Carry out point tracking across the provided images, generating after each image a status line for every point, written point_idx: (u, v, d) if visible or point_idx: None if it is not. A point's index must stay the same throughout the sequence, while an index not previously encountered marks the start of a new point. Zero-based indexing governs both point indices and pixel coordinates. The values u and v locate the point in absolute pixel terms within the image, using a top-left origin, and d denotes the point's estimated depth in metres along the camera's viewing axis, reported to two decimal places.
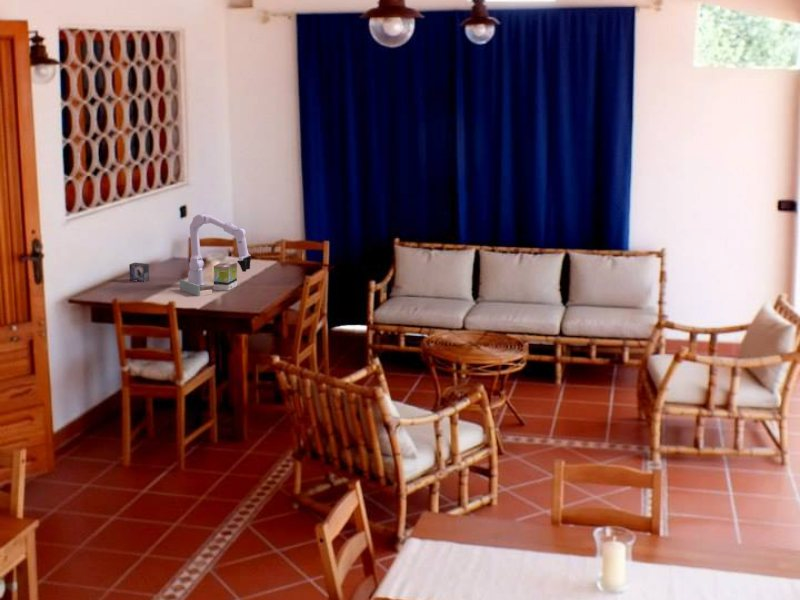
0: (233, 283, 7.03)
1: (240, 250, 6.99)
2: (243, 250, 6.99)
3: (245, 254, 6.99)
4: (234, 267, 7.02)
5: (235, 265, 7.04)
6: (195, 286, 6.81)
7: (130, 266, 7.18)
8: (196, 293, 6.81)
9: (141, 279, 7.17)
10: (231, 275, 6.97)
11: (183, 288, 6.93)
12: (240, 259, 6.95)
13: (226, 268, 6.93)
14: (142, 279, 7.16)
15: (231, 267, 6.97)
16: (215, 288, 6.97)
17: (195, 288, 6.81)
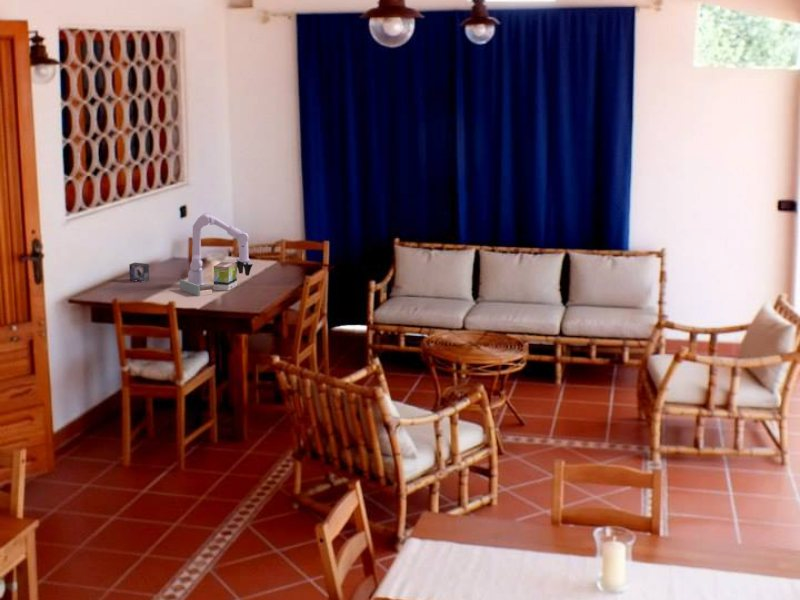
0: (233, 283, 7.03)
1: (245, 254, 7.05)
2: (247, 254, 7.06)
3: (248, 258, 7.07)
4: (234, 267, 7.02)
5: (235, 265, 7.04)
6: (195, 286, 6.81)
7: (130, 266, 7.18)
8: (196, 293, 6.81)
9: (141, 279, 7.17)
10: (231, 275, 6.97)
11: (183, 288, 6.93)
12: (250, 263, 7.03)
13: (226, 268, 6.93)
14: (142, 279, 7.16)
15: (231, 267, 6.97)
16: (215, 288, 6.97)
17: (195, 288, 6.81)
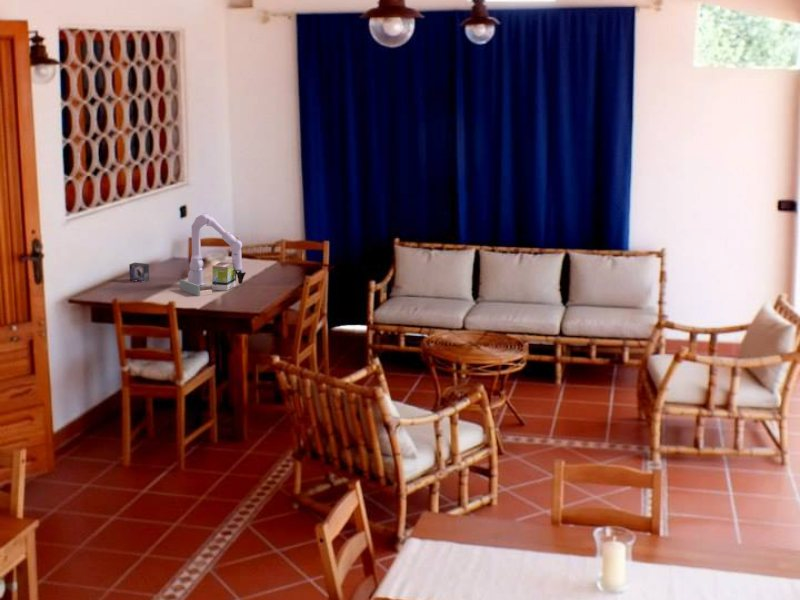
0: (232, 284, 7.02)
1: (238, 262, 7.03)
2: (240, 262, 7.04)
3: (241, 266, 7.05)
4: (232, 267, 7.01)
5: (233, 265, 7.03)
6: (195, 286, 6.81)
7: (130, 266, 7.18)
8: (196, 293, 6.81)
9: (141, 279, 7.17)
10: (229, 275, 6.97)
11: (183, 288, 6.93)
12: (243, 271, 7.01)
13: (225, 268, 6.92)
14: (142, 279, 7.16)
15: (230, 267, 6.96)
16: (214, 288, 6.96)
17: (195, 288, 6.81)
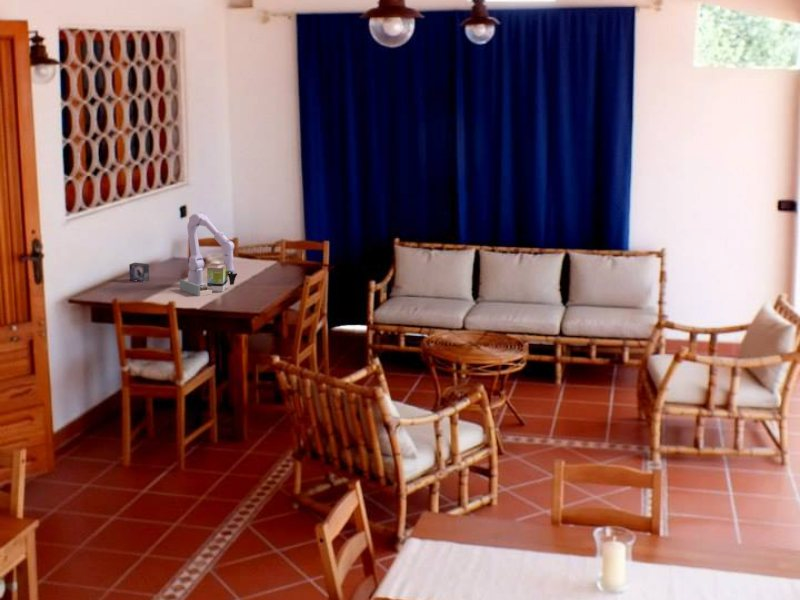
0: (225, 285, 6.99)
1: (229, 263, 6.99)
2: (232, 263, 7.00)
3: (232, 267, 7.02)
4: (226, 268, 6.98)
5: None
6: (195, 286, 6.81)
7: (130, 266, 7.18)
8: (196, 293, 6.81)
9: (141, 279, 7.17)
10: (224, 276, 6.93)
11: (183, 288, 6.93)
12: (234, 272, 6.97)
13: (220, 269, 6.89)
14: (142, 279, 7.16)
15: (224, 268, 6.93)
16: None
17: (195, 288, 6.81)
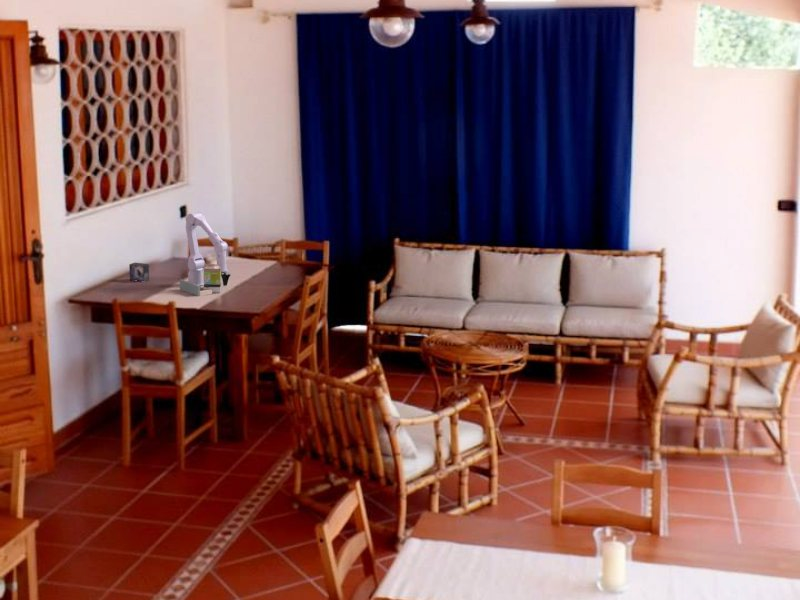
0: None
1: (223, 264, 6.96)
2: (225, 264, 6.98)
3: None
4: None
5: None
6: (195, 286, 6.81)
7: (130, 266, 7.18)
8: (196, 293, 6.81)
9: (141, 279, 7.17)
10: None
11: (183, 288, 6.93)
12: (227, 273, 6.94)
13: (218, 270, 6.86)
14: (142, 279, 7.16)
15: None
16: None
17: (195, 288, 6.81)
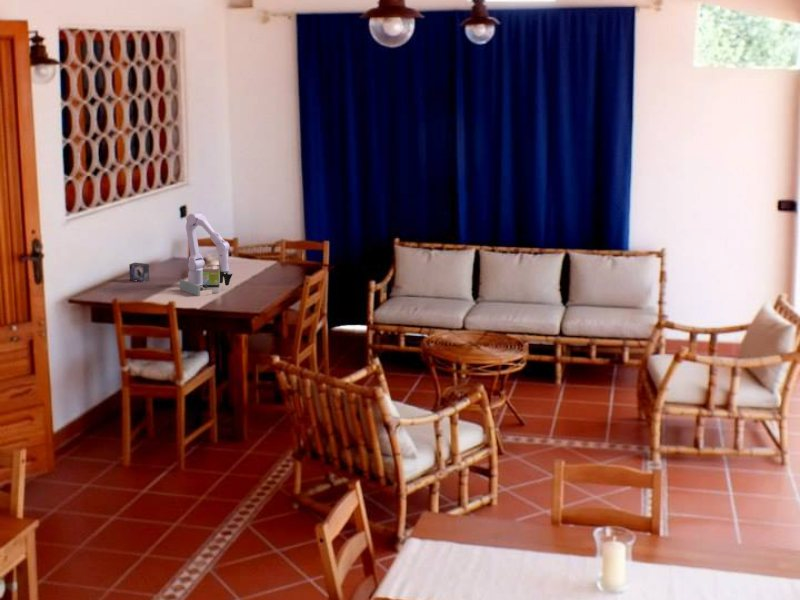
0: (219, 286, 6.96)
1: (225, 264, 6.97)
2: (227, 264, 6.98)
3: (228, 268, 7.00)
4: (219, 269, 6.96)
5: None
6: (195, 286, 6.81)
7: (130, 266, 7.18)
8: (196, 293, 6.81)
9: (141, 279, 7.17)
10: (219, 277, 6.91)
11: (183, 288, 6.93)
12: (229, 273, 6.95)
13: (216, 270, 6.86)
14: (142, 279, 7.16)
15: None
16: None
17: (195, 288, 6.81)
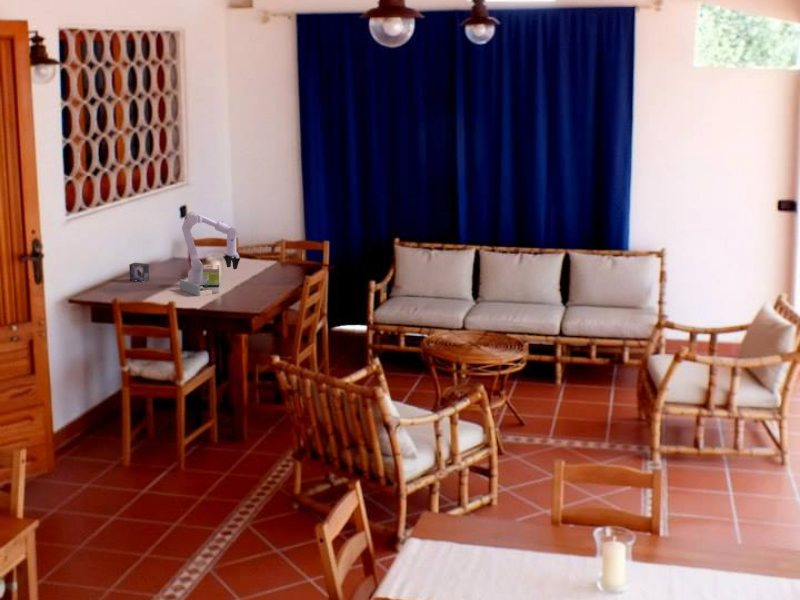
0: (219, 286, 6.96)
1: (233, 248, 7.10)
2: (235, 248, 7.12)
3: None
4: (219, 269, 6.96)
5: None
6: (195, 286, 6.81)
7: (130, 266, 7.18)
8: (196, 293, 6.81)
9: (141, 279, 7.17)
10: (219, 277, 6.91)
11: (183, 288, 6.93)
12: (237, 257, 7.08)
13: (216, 270, 6.86)
14: (142, 279, 7.16)
15: None
16: None
17: (195, 288, 6.81)
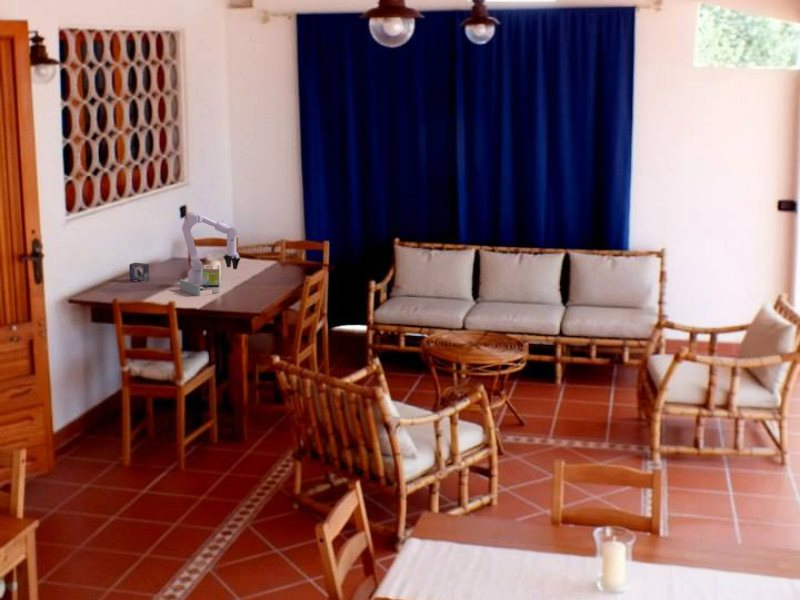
0: (219, 286, 6.96)
1: (233, 248, 7.10)
2: (235, 248, 7.12)
3: None
4: (219, 269, 6.96)
5: None
6: (195, 286, 6.81)
7: (130, 266, 7.18)
8: (196, 293, 6.81)
9: (141, 279, 7.17)
10: (219, 277, 6.91)
11: (183, 288, 6.93)
12: (237, 257, 7.08)
13: (216, 270, 6.86)
14: (142, 279, 7.16)
15: None
16: None
17: (195, 288, 6.81)
